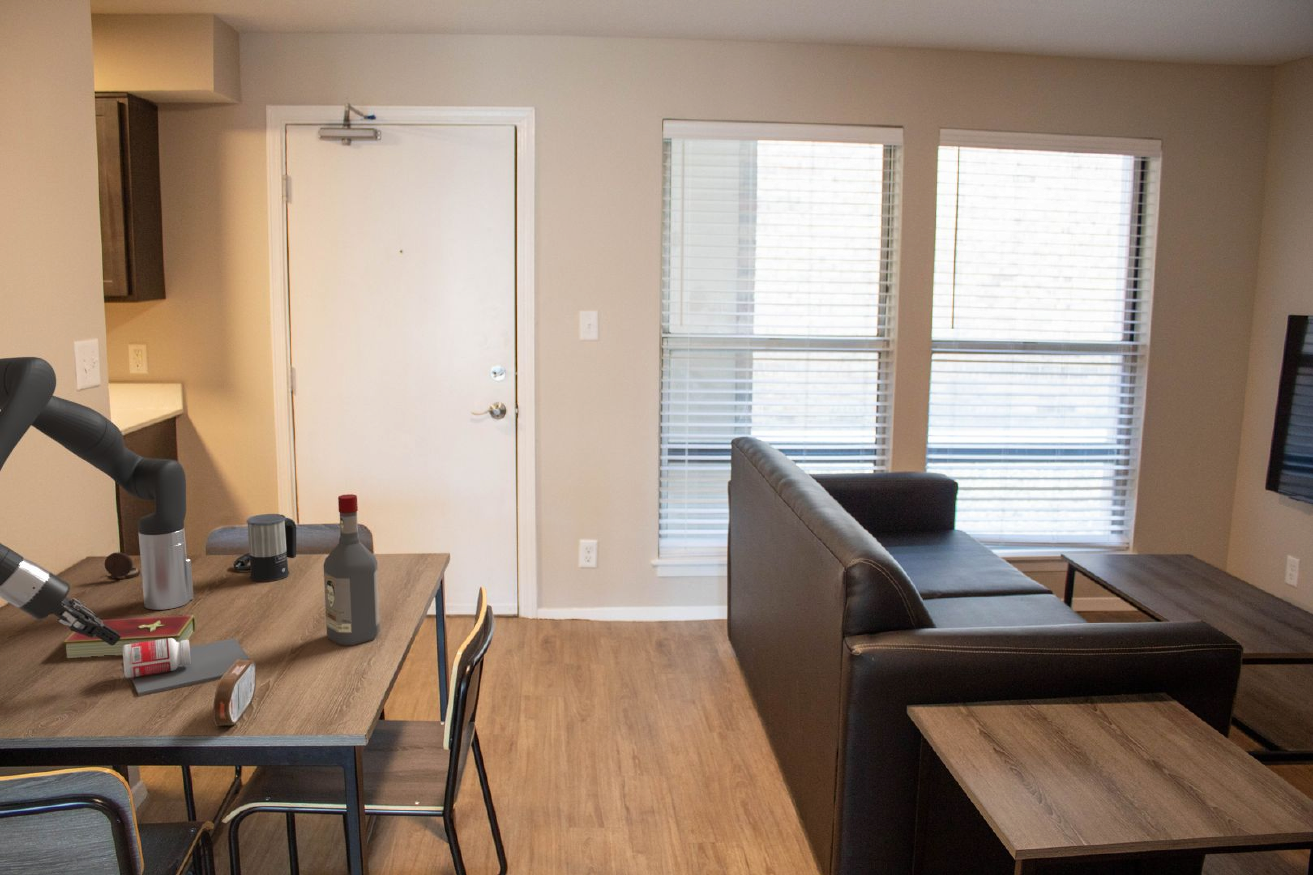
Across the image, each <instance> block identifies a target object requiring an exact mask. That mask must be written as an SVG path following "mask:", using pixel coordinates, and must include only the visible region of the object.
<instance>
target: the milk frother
mask: <svg viewBox="0 0 1313 875" xmlns="http://www.w3.org/2000/svg"><path fill="white" fill-rule="evenodd" d="M245 522H246V523H247V537H248V551H249V552H248V553H245V554H243V555H241V556H239V557H238V558H236V559H235V560H234V562H233V568H234V569H235V570H237V571H240V572H250V574H249V579H250V580H252V581H254V582H261V583H262V582H263V583H264V582H274V581H278V580H279V581H280V580H282V579H285V578H286V577H289V575H290V570H289V564H288V559H294V558H296V557H297V524H296V522H295V521H294V520H293V519H292V518H290V517H286V515H284V514H280V513H265V514H258V515H257V514H256V515H254V516H249V517H248V518H246V520H245ZM248 564H249V565H248Z"/></svg>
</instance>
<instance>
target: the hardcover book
mask: <svg viewBox="0 0 1313 875" xmlns="http://www.w3.org/2000/svg"><path fill="white" fill-rule="evenodd" d="M195 617H196V616H195V615H193V614H192V615H177V616H176V615H175V616H155V617H137V618H136V617H135V618H120V619H118V618H116V619H101V620H102V622H103V624H105V625H107V626H108V627H110V628H112V629H113V630H115V631H116V632H118V633H119V634H120V637H121V638H120V639H119V640H118V641H117V643H116V644H115V645H110V644H108V643H106V642H105V641H103V640H101V639H100V638H98V637H96V636H93V637H92V638H91V637H88V636H86V635H83V634H80V633H77V632H74V631H72V632H71V633H70V634H69V635H68V636H67V637H66V638H65V639H64V640H63V641H62V645H65V651H66V658H67V659H75V658H76V659H77V658H78V657H79V658H78V659H80V657H81V658H92V657H91V656H98V657H105V656H104V655H115V656H123V646H124V645H127V644H133V643H140V642H147V641H154V640H161V639H168V638H173V639H174V640H176V642H180V641H182V640H189V638H190V636H192V634H193V632H197V631H196V619H195Z"/></svg>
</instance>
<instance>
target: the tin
mask: <svg viewBox="0 0 1313 875" xmlns="http://www.w3.org/2000/svg"><path fill="white" fill-rule="evenodd" d="M256 672H257V664H256V662H255V660H252V659H250V660H241V659H238V660H236V661H235V663H234V664H233V665H232V666H231V667H230V668H229V670H228V671H227V672H226V673H225V674H224V675H223V676H222V678H221V679H219V682H218V683H217V686H216V689H215V690H216V691H215V693H214V698H213V720H214V724H215V726H219V727H220V726H234V725H236V724H237V723H238V721H239V720H240V719H241V717H242V716H243V715H244V713H245V712H246V711H247V709H248V708H249V706H250V705H251V704H252V702H253V699H254V696H255V691H256V688H257V683H256V675H257V673H256Z"/></svg>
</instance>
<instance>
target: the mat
mask: <svg viewBox="0 0 1313 875" xmlns="http://www.w3.org/2000/svg"><path fill="white" fill-rule="evenodd" d="M189 647H190V661H191V664H189V665H182V664H180V665H178V667H177V669H176V670H174V671H170V672H164V673H158V674H151V675H145V676H139V677H133V678H131V680H132V682H133V685H134V688H135V691H136V693H138V694H137V696H138V697H140V696H145V695H144V694H146V695H149V693H150V694H153V693H158V692H164V691H168V690H174V689H178V688H182V687H188V686H193V685H197V684H202V683H207V682H211V681H215V680H216V681H217V680H220V679H221V678H222V676H223V675H224V674H225V673H226V672H227V671H228V670H229V668H230V667H231V666H232V665H233V664H234V663H235V661H236V660H238V659H241V660H251V659H250V657H249V655H248V654H247V653H246V652H245V650H244V649H243V648H242V646H241V644H240V643H239V641H238V640H237V638H236V637H233V638H228V639H222V640H218V641H213V642H207V643H201V644H196V645H192V646H189Z"/></svg>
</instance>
